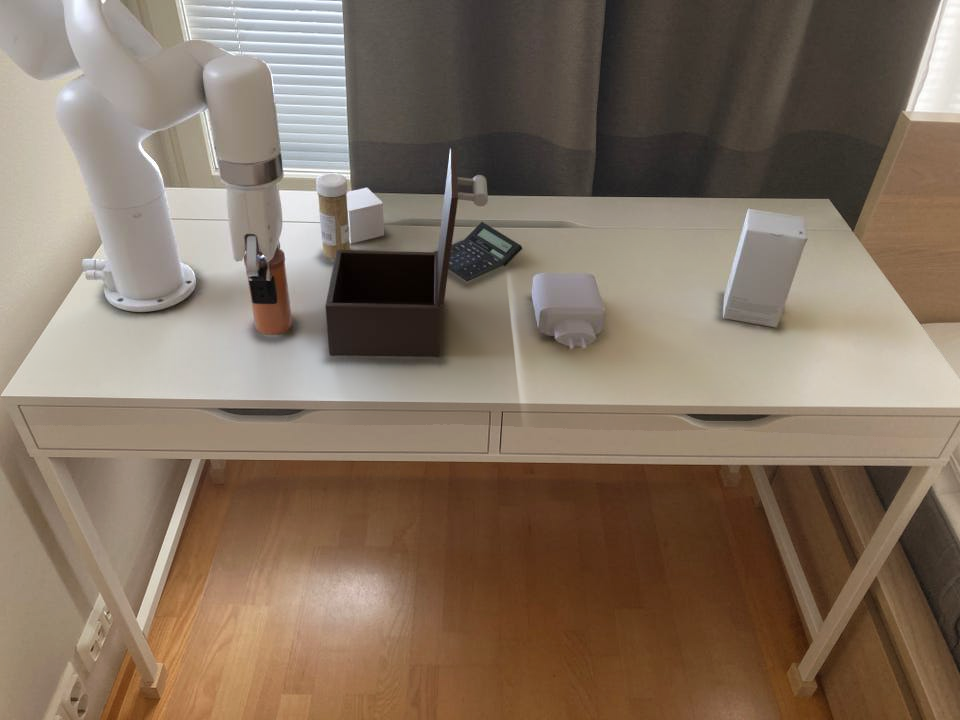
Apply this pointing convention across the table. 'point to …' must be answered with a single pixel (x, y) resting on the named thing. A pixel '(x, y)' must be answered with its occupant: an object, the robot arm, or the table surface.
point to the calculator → (481, 252)
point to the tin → (277, 315)
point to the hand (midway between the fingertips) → (268, 289)
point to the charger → (568, 307)
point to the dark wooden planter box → (383, 304)
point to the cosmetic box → (764, 267)
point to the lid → (454, 216)
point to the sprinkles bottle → (333, 213)
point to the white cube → (364, 215)
